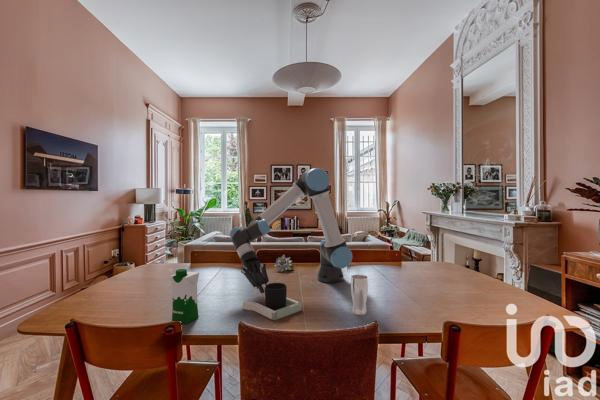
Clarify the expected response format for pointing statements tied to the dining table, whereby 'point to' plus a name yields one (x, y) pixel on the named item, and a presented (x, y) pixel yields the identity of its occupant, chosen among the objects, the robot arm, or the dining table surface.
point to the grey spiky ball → (283, 263)
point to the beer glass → (359, 294)
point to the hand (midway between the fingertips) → (268, 298)
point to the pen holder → (275, 296)
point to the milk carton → (184, 296)
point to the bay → (274, 315)
